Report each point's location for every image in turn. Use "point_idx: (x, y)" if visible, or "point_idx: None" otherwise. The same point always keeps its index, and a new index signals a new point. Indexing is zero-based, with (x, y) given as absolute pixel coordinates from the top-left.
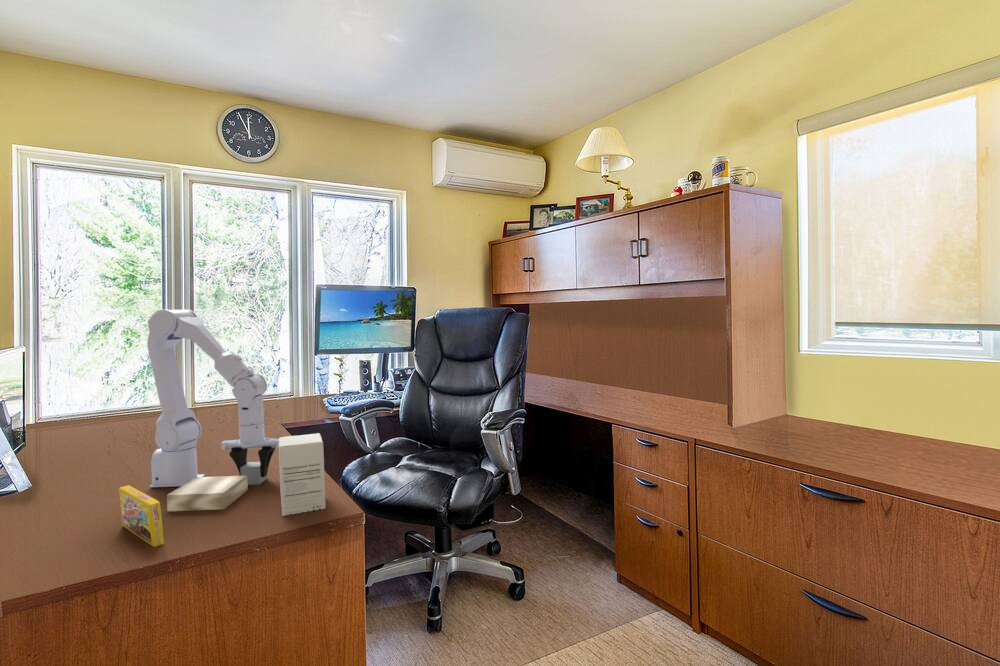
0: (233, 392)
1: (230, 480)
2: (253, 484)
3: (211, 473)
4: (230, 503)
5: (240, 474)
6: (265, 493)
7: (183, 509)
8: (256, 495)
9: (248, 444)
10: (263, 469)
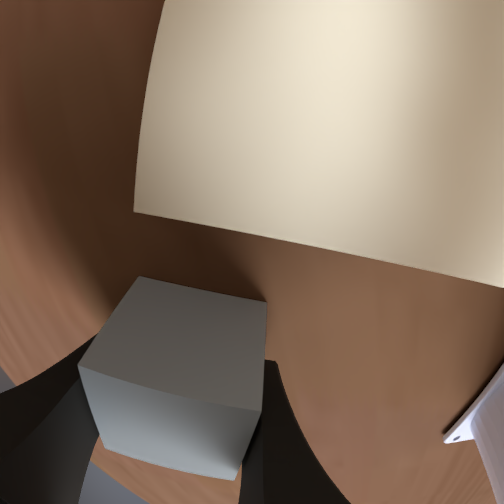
0: None
1: (296, 41)
2: (178, 286)
3: (414, 457)
4: None
5: (274, 377)
6: (51, 75)
7: None
8: (94, 39)
9: None
10: (75, 354)
